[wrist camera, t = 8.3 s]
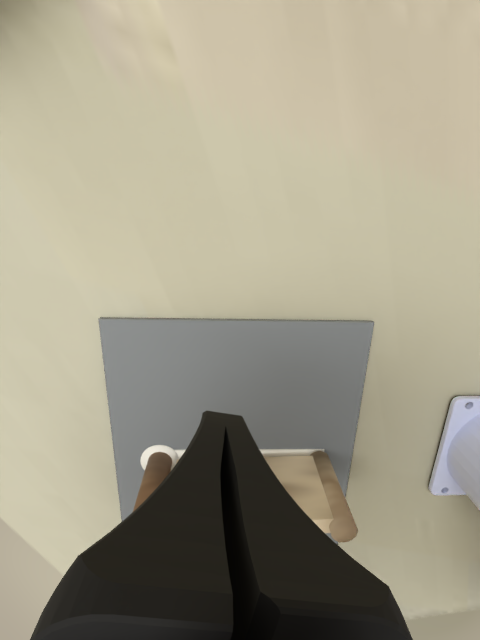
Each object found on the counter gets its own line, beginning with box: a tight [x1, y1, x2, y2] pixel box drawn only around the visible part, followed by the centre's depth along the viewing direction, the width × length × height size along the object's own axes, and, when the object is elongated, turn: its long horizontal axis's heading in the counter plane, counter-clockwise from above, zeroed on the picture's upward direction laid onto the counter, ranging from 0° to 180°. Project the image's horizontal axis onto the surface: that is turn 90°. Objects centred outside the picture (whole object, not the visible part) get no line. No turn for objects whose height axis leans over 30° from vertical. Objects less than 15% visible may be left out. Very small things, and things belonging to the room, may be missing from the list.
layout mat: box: [99, 317, 374, 545], centre depth 23 cm, size 16×19×1 cm
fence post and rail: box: [133, 452, 172, 511], centre depth 22 cm, size 2×10×6 cm, turn 178°
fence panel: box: [176, 451, 358, 542], centre depth 21 cm, size 10×1×5 cm, turn 90°
